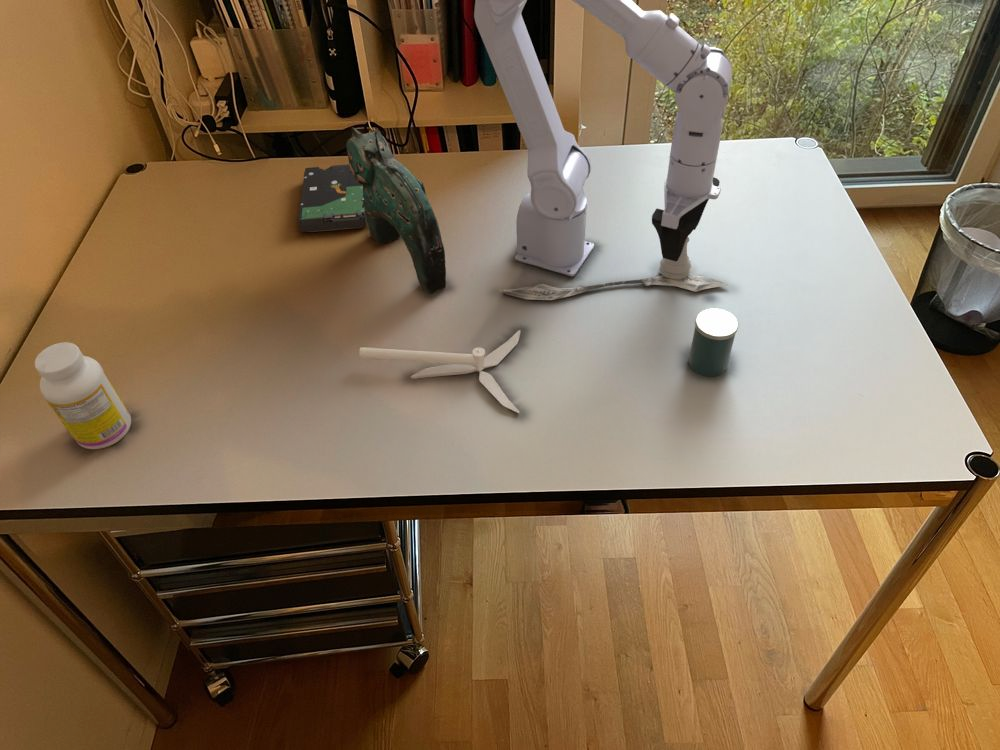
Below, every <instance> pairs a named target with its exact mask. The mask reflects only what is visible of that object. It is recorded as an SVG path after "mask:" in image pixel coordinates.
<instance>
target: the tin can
mask: <svg viewBox="0 0 1000 750" xmlns="http://www.w3.org/2000/svg"><path fill="white" fill-rule="evenodd" d="M738 328H739V321H738V319H737V317H736V316H735V315H734V314H732V313H731V312H730V311H728V310H725V309H722V308H715V307H714V308H713V307H712V308H706V309H703V310H702V311H700V312H698V314H697V315H696V317H695V322H694V330H693V336H692V339H691V346H690V351H689V355H688V365H689V367H690V368H691V369H692V370H693V371H694V372H695V373H697V374H699V375H700V376H705V377H717V376H719V375H721V374H723V373H724V372H725V371H726V370H727V368H728V364H729V361H730V357H731V353H732V350H733V346H734V345H733V344H734V341H735V337H736V333H738V332H737V331H738Z"/></svg>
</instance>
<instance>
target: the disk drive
mask: <svg viewBox="0 0 1000 750" xmlns="http://www.w3.org/2000/svg"><path fill="white" fill-rule="evenodd" d="M302 181H303V182H302V190H301V197H300V204H299V209H298V219H297V220H298V224H299V227H300V230H301V233H305V232H307V233H308V232H310V233H315V232H326V231H337V230H348V229H349V230H350V229H360V228H364V227H367V226H368V222H367V218H366V214H365V203H364V195H363V185H362V184H360V183H359V182H358V180H357V179H356V178H354V176H353V174H352V172H351V170H350V167H349V164H338V165H337V164H335V165H331V166H329V167H326V168H325V169H324V168H320V167H319V166H313V167H305V168H304V171H303V180H302Z"/></svg>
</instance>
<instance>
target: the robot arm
mask: <svg viewBox="0 0 1000 750" xmlns="http://www.w3.org/2000/svg"><path fill="white" fill-rule="evenodd" d="M474 1H475V3H474V11H473V18H474V22H475V25H476V28H477V30H478V32H479V35H480V37H481V40H482V42H483V45H484V47H485V50H486V52H487V54H488V57H489V60H490V61H491V65H492V66H493V69H494V71H495V74H496V76H497V79H498V81H499V84H500V86H501V88H502V91H503V93H504V96H505V99H506V101H507V104H508V105H509V108H510V110H511V113H512V116H513V118H514V121H515V123H516V125H517V128H518V131H519V132H520V135H521V137H522V140H523V142H524V144H525V147H526V149H527V169H526V170H527V172H526V173H527V174H526V175H527V178H528V181H529V183H530V188H531V189H530V192H528V193H526V194H525V196H524V197H523V198H522V200H521V202H520V204H519V207H518V210H517V214H516V221H515V223H516V226H515V227H516V254H515V256H514V260H515V261H518V262H521V263H523V264H528V265H531V266H534V267H538V268H541V269H544V270H547V271H552V272H555V273H557V274H562V275H565V276H568V277H575V276H576V274H577V273H578V271H580V269H581V267H582V266H583V264H584V263H585V262H586V260H587V259H588V257H589V256H590V255H591V252H593V250H594V249H595V243H594V242H591V241H587V240H586V230H587V229H586V227H587V226H586V225H587V207H588V200H587V196H586V193H585V191H584V185H585V183H586V180H588V178H589V176H590V174H591V171H592V163H591V159H590V157H589V155H588V153H586V151H584V150H583V149H582V148H581V147H580V146H579V144H578V142H577V140H576V138H575V135H574V134H573V133H571V132H569V131H567V130H565V128H564V125H563V122H562V120H561V118H560V115H559V112H558V110H557V107H556V104H555V102H554V99H553V97H552V94H551V91H550V89H549V85H548V82H547V80H546V77H545V75H544V72H543V68H542V67H541V64H540V61H539V59H538V56H537V53H536V51H535V48H534V45H533V43H532V39H531V37H530V34H529V32H528V29H527V26H526V24H525V21H524V18H523V15H522V12H523V10H524V8H525V5H526V3H527V1H528V0H474ZM572 1H573V2H574V3H575V4H577V5H578V6H579V7H581V8H583V9H584V10H585V11H587V12H588V13H589V14H591V16H593V17H595V18H596V19H597V20H599V21H600V22H602V23H603V24H604V25H606V26H607V27H608V28H610V29H611V30H613V31H614V32H615V33H617V34H618V35H619V36H621V37H622V38H623V41H624V44H625V52H626V55H627V56H628V57H629V58H630V59H632V60H633V61H634V62H635V63H636V64H637V65H639V66H640V67H641V68H643V70H645V71H646V72H647V73H649V74H650V75H651V76H652V77H654V78H655V79H656V80H657V81H658V82H659V83H661V84H662V85H663V86H664V87H665V88H666V89H668V90H670V91H671V92H673V93H674V101H675V105H676V107H677V114H676V116H675V118H674V122H673V123H674V124H673V130H672V131H673V132H672V138H671V146H670V153H669V160H668V168H667V175H666V179H665V181H664V186H663V193H664V194H663V196H664V199H663V200H664V209H661V208H655V210H654V212H653V213H652V215H651V224H652V226H653V227H654V229H655V230H656V233H657V235H658V239H659V244H660V251H661V256H662V258H665V259H668V260H672V261H678V259H679V257H680V255H681V253H682V251H683V248H684V245H685V242H686V239H687V237H688V238H689V236H690V235H691V234H692V232H693V231H696V230H697V227H698V225H699V224H700V222H701V219H702V216H703V213H704V211H705V210H706V209H705V208H706V207H707V204H708V202H709V200H717V199H718V198H719V196H720V195H721V191H722V189H721V186H720V183H721V181H720V180H719V179H718V178H716V177H715V176H714V175H715V170H716V164H717V160H718V154H719V149H720V144H721V138H722V132H723V127H724V119H723V118H724V116H725V111H726V107H727V105H728V103H729V92H730V88H731V84H732V79H733V66H732V63H731V60H730V58H729V57H728V56H727V55H726V54H725V52H724V50H722V49H721V48H718V47H714V46H709V45H707V43H703V44H701V43H700V42H699V41H698V40H696V39H695V38H693V37H692V36H691V35H690V34H689V33H687V32H686V31H685V30H684V29H683V28H682V27H681V26H679V24H680V21H681V20H680V18H679V17H678V16H676V15H675V14H674V13H672V12H670V14H669V15H667V14H665V12H663V11H662V10H659V9H655V10H643V9H642V8H641V7H640V6H638V5H637V4H636V3H635V2H634V0H572ZM719 186H720V187H719Z"/></svg>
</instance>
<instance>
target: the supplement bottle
mask: <svg viewBox="0 0 1000 750" xmlns="http://www.w3.org/2000/svg"><path fill="white" fill-rule="evenodd" d="M34 367H35V369H36V371H37V373H38V374H39V376H40V380H39V390H40V393H41V395H42V396H43V398H44V399H45V400H46V402H47V403H48V405H49V406H50V407H51V409H52V410H53V412H54V413H55V414H56V416H57V417H58V419H59V420H60V421H61V423H62V424H63V426H64V427H65V428H66V430H67V431H68V433H69V435H70V436H71V437H72V438H73V440H74V441H75V442H76V444H77V445H79V446H80V447H82V448H84V449H88V450H100V449H104V448H108V447H110V446H113V445H115V444H117V443H118V442H120V441H121V440H122V439H123V438H124V437H125V436H126V435H127V434H128V432H129V430H130V428H131V425H132V416H131V414H130V412H129V411H128V408H127V407H126V405H125V403H124V402H123V399H121V396H120V395H119V394H118V391H116V388H115V387H114V385H113V384H112V382H111V381H110V379H109V378H108V376H107V374H106V372H105V371H104V369H103V367H102V366H101V364H100V363H99V361H97V360H96V359H94V358H92V357H91V356H87V355H84V354H83V352H82V351H81V350H80V348H79V347H78V346H77V345H76V344H75V343H72V342H65V341H63V342H58V343H55V344H52V345H50V346H47V347H46V348H44V349H43V350H42V351H40V352H39V353H38V355H37V356H36V357H35V359H34Z"/></svg>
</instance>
